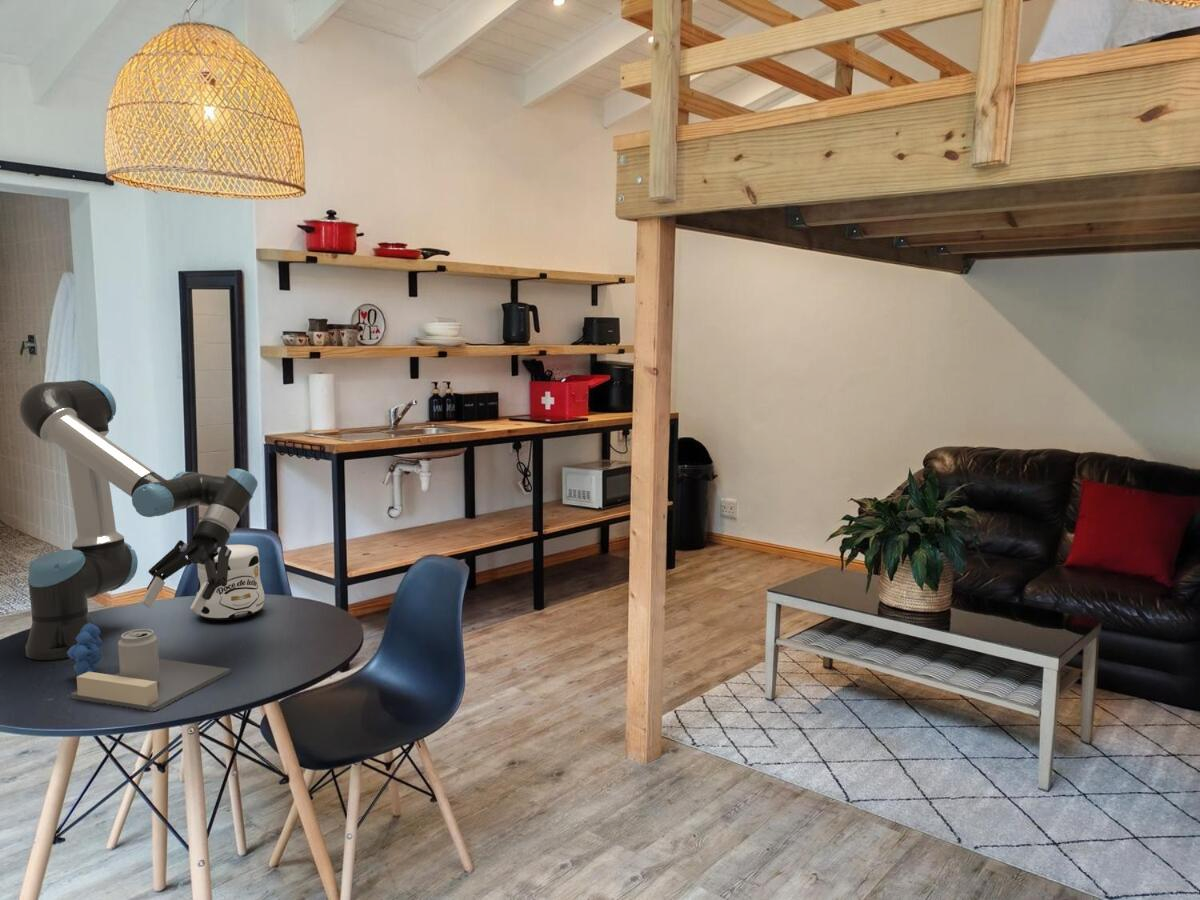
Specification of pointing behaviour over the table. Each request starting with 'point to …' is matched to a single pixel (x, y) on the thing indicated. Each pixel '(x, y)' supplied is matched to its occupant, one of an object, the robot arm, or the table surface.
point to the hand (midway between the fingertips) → (169, 608)
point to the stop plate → (173, 683)
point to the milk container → (235, 586)
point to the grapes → (86, 649)
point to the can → (139, 655)
